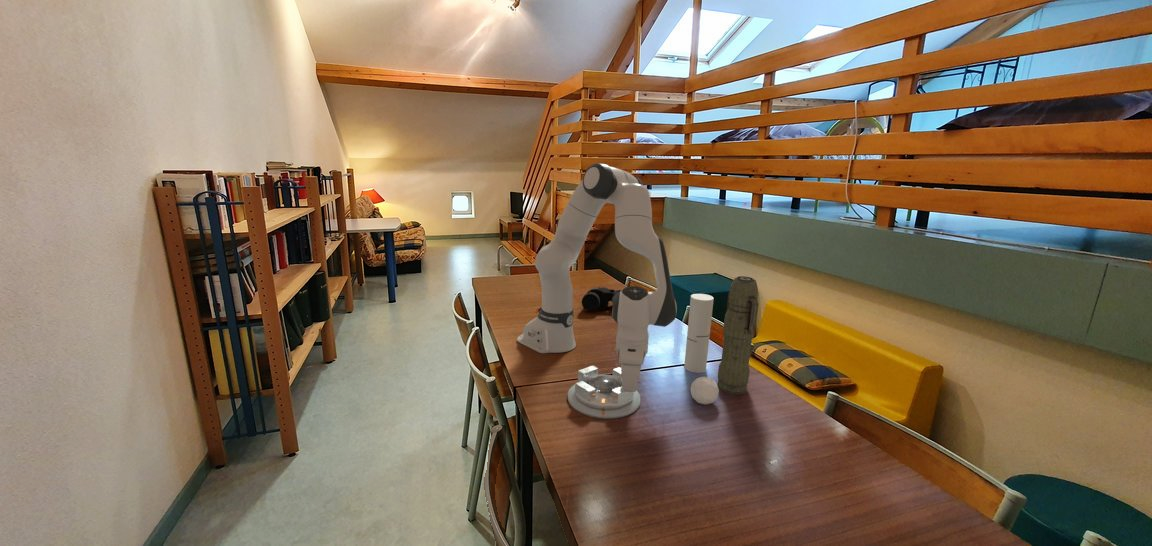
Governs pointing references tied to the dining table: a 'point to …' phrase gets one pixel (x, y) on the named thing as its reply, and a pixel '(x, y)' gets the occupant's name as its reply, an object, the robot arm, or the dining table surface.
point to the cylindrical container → (698, 332)
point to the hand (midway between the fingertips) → (629, 390)
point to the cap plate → (603, 413)
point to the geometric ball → (704, 390)
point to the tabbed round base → (601, 390)
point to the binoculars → (598, 298)
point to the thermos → (738, 335)
